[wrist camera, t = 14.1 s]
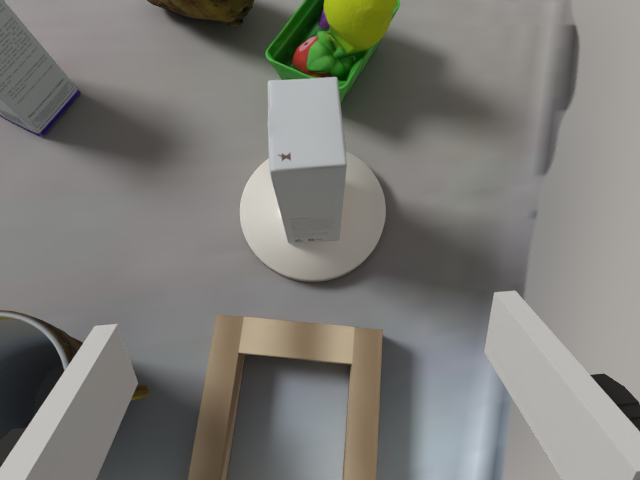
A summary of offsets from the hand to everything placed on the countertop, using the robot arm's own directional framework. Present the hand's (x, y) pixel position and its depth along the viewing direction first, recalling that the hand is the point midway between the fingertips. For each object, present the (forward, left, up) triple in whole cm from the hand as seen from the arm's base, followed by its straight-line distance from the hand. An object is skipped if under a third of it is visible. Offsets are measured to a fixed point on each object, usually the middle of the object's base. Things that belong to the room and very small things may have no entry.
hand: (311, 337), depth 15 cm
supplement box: (-29, +21, -17) cm, 40 cm away
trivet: (-2, +12, -17) cm, 21 cm away
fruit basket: (-1, +27, -17) cm, 32 cm away
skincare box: (-2, +12, -16) cm, 20 cm away
